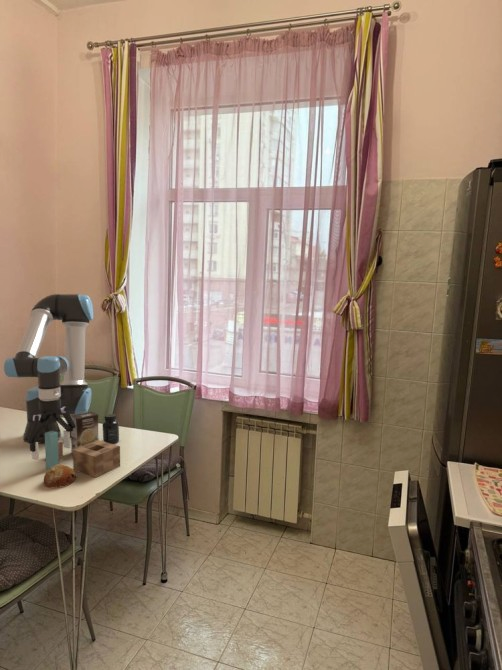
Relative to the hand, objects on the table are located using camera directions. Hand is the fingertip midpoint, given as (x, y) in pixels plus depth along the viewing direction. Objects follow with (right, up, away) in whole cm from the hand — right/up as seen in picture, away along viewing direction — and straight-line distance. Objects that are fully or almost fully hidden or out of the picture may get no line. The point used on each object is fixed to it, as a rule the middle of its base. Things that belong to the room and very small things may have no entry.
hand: (51, 453), depth 170 cm
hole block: (+16, -6, +2) cm, 18 cm away
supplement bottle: (+13, -3, +29) cm, 32 cm away
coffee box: (+7, -4, +17) cm, 18 cm away
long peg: (0, -6, +1) cm, 6 cm away
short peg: (-3, -4, +12) cm, 13 cm away
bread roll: (+7, -8, -10) cm, 15 cm away
